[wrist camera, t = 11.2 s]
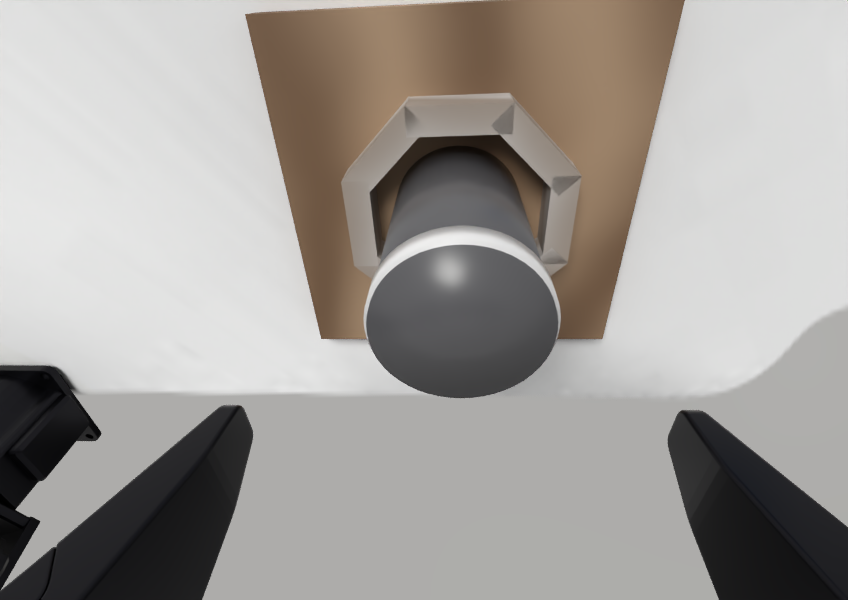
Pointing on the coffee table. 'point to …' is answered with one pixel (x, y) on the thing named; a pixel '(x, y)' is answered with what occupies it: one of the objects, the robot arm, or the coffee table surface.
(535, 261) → the lens cylinder
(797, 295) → the coffee table surface
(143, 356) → the coffee table surface
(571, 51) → the collar holder
